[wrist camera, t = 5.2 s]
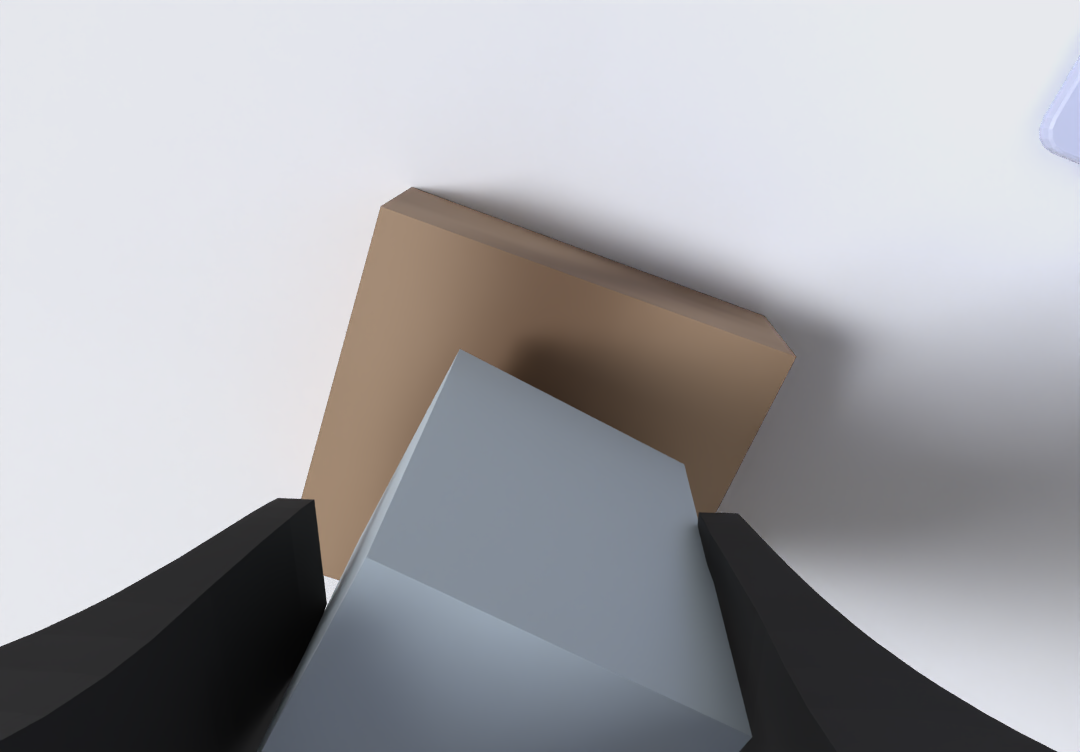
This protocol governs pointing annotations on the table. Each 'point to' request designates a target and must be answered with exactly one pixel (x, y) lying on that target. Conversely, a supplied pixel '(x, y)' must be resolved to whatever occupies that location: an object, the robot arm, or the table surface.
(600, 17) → the table surface
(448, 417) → the grey block
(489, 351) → the walnut base
